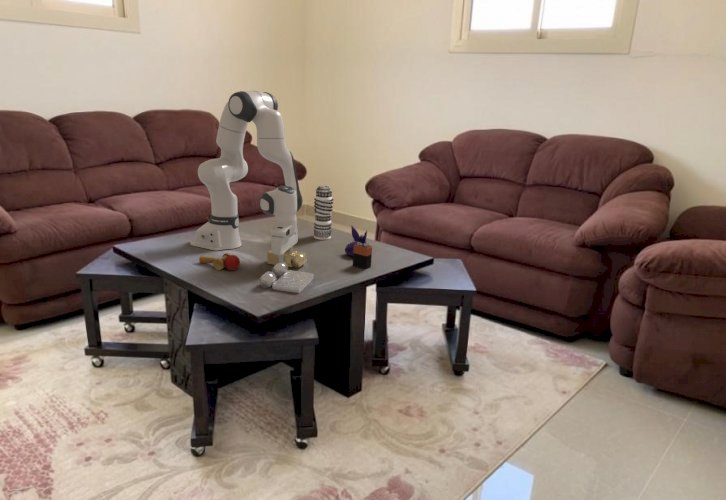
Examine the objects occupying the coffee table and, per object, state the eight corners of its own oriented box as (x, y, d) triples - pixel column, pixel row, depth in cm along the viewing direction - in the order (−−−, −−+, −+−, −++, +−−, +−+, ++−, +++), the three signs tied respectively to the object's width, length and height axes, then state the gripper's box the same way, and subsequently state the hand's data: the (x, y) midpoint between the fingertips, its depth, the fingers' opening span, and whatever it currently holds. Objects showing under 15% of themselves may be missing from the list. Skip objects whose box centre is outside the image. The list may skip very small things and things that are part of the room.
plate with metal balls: (299, 293, 187) (299, 280, 185) (258, 287, 190) (258, 274, 189) (313, 278, 202) (314, 266, 200) (276, 272, 205) (276, 260, 204)
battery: (365, 269, 215) (367, 246, 212) (352, 265, 218) (353, 242, 215) (371, 266, 218) (372, 243, 215) (357, 263, 222) (359, 240, 219)
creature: (374, 250, 240) (376, 224, 236) (357, 261, 224) (358, 233, 220) (357, 247, 243) (358, 221, 240) (338, 257, 228) (340, 230, 224)
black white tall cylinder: (331, 240, 251) (333, 189, 243) (312, 239, 250) (313, 187, 243) (332, 235, 259) (334, 185, 252) (313, 234, 259) (315, 184, 252)
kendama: (194, 269, 208) (232, 271, 200) (194, 253, 207) (231, 255, 200) (207, 267, 215) (244, 269, 208) (207, 251, 214) (244, 253, 207)
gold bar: (301, 268, 211) (302, 257, 209) (267, 263, 214) (267, 252, 212) (307, 264, 216) (307, 252, 215) (273, 259, 219) (273, 247, 218)
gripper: (288, 219, 221) (287, 250, 225) (268, 232, 202) (267, 265, 206) (302, 221, 219) (301, 252, 224) (283, 234, 200) (282, 268, 205)
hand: (285, 259), depth 215 cm, fingers closed on gold bar, 6 cm apart
